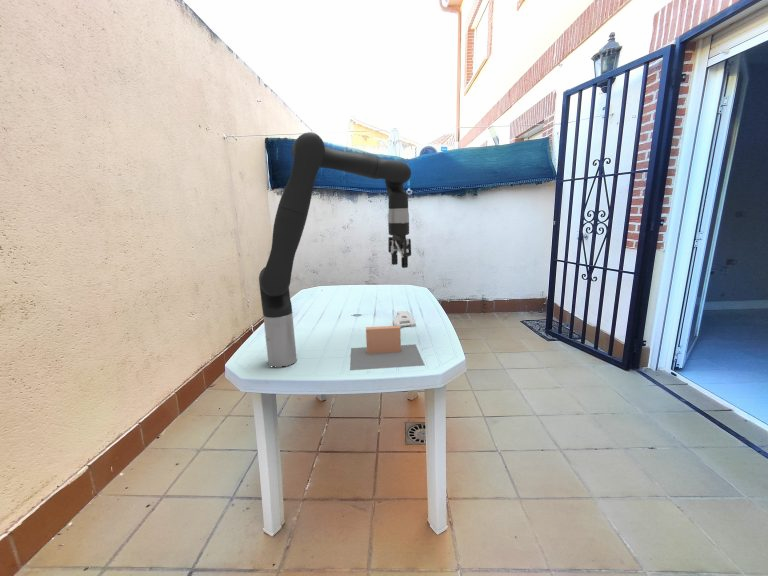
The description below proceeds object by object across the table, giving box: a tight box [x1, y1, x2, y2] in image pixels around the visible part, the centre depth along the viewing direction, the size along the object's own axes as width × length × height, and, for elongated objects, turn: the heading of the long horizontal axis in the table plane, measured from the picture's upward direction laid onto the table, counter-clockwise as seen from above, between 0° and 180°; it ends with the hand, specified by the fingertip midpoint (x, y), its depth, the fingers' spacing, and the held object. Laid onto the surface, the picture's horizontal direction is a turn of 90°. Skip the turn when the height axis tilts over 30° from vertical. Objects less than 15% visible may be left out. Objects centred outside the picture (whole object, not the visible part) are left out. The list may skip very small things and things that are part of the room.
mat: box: [349, 344, 425, 371], centre depth 118 cm, size 24×18×1 cm
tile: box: [365, 325, 402, 354], centre depth 121 cm, size 12×2×9 cm, turn 94°
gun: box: [392, 310, 416, 330], centre depth 155 cm, size 18×3×10 cm
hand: (399, 266), depth 127 cm, fingers open, 8 cm apart
